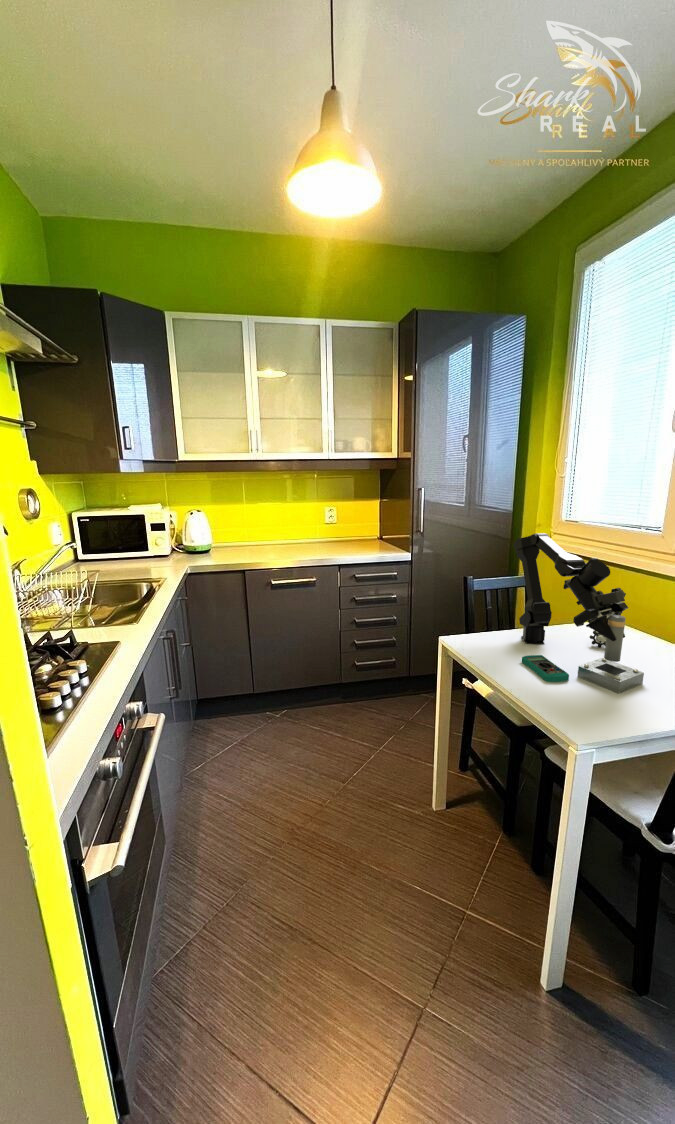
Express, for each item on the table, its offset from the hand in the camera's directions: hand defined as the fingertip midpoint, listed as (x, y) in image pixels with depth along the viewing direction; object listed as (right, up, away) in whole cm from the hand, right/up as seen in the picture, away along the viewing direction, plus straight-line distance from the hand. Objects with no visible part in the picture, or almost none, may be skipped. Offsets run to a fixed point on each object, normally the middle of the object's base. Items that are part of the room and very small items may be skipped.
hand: (619, 639), depth 122 cm
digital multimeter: (-17, -12, +10) cm, 23 cm away
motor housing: (-1, -13, +4) cm, 13 cm away
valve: (+15, -7, +33) cm, 37 cm away
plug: (-1, -6, +2) cm, 7 cm away
